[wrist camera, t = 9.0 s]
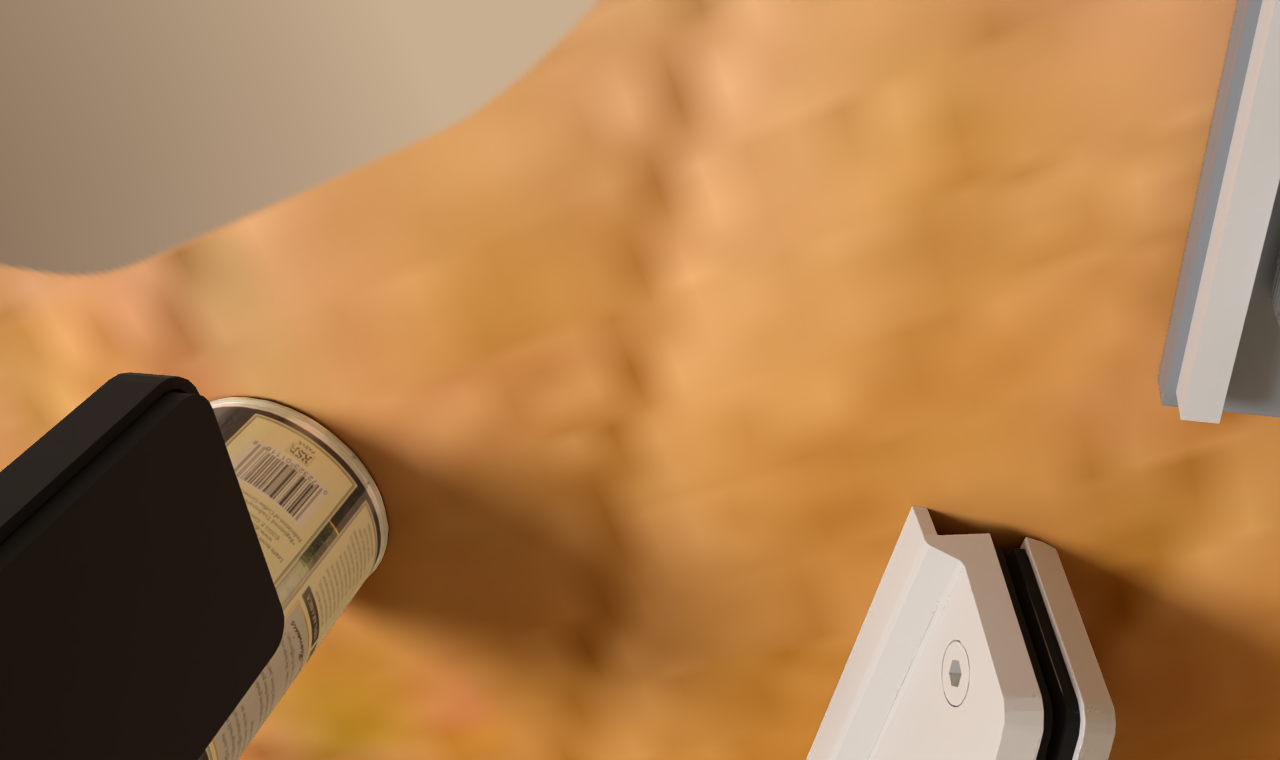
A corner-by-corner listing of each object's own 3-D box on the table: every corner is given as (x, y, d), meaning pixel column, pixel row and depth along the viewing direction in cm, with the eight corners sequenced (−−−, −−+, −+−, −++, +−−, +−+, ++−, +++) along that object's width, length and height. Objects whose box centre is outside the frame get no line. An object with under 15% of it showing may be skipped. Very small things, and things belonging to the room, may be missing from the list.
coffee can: (182, 551, 54) (-51, 798, 42) (163, 365, 48) (-114, 593, 36) (389, 620, 52) (204, 896, 41) (395, 436, 46) (182, 698, 35)
